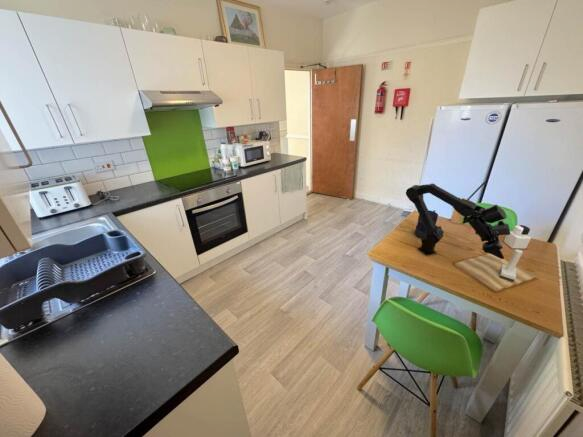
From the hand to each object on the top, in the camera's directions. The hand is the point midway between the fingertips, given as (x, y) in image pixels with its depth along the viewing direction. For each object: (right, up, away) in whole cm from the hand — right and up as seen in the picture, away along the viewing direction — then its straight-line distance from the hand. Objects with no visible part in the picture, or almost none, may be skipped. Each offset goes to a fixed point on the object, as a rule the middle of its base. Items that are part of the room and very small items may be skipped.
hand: (502, 253), depth 109 cm
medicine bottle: (+30, +1, +26) cm, 39 cm away
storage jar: (-15, +5, +38) cm, 41 cm away
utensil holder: (+15, +14, +52) cm, 56 cm away
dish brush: (+4, -11, +3) cm, 12 cm away
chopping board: (+2, -10, +7) cm, 12 cm away
